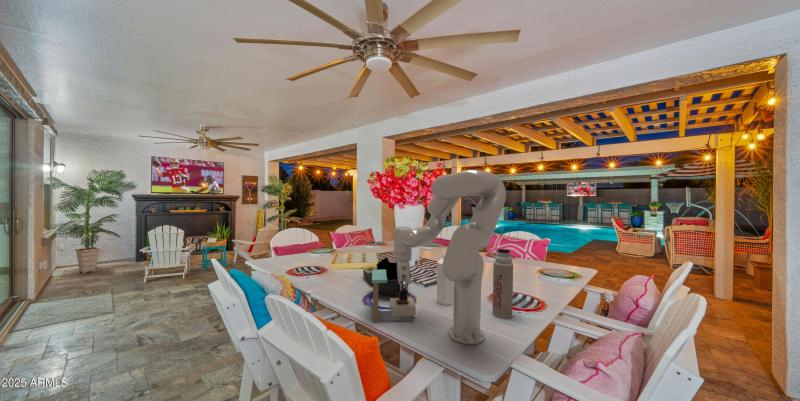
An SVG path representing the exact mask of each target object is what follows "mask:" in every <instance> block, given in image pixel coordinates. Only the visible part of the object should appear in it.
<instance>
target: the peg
mask: <svg viewBox="0 0 800 401" xmlns="http://www.w3.org/2000/svg"><path fill="white" fill-rule="evenodd" d="M402 283H403V282H402ZM402 286H403V285H402ZM407 290H408V291H409V285H408V284H407ZM398 298H399V305H407V300H400V291H399V294H398Z"/></svg>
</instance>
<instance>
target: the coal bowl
mask: <svg viewBox="0 0 800 401" xmlns="http://www.w3.org/2000/svg"><path fill="white" fill-rule="evenodd" d="M375 266H376V268H377V270H386V275H387V283H378V292H380V293H383V294H384V295H387V294H388V295H389V296H395V295H399V294H398V293H399V292H398V279H397V261H396V262H390V260H389V258H388V257H387V256H386V257H385V258H382V259H381V260H380V261H378V262H377V263H376V265H375ZM411 278H412V274H411V273H410V280H411ZM409 285H410V284H408V286H409ZM394 294H395V295H394ZM388 295H387V296H388Z"/></svg>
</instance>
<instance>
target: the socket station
mask: <svg viewBox="0 0 800 401" xmlns="http://www.w3.org/2000/svg"><path fill="white" fill-rule="evenodd" d="M372 283H373V287H372V323H373V324H374V323H402V322H405V323H406V322H410V323H411V322H414V319H413V317H416V315H417V314H416V313H417V312H416V309H417V308H416V304H415V301H414V300H415V299H414V298H413V297H408V300H407V305H399V297H395V298H394V297H390V298H389V303H390V304H389V305H390V307H391V311H380V310H378V305H379V290H378V283H387V275H386V270H372Z"/></svg>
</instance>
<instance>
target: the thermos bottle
mask: <svg viewBox="0 0 800 401" xmlns="http://www.w3.org/2000/svg"><path fill="white" fill-rule="evenodd" d="M510 252H511V250H510V249H508V248H507V249H506V248H498V249H497V255H496V256H495V258H494V259H495V260H494V261H493V263H492V264H493V269H492V270H493V273H492V274H493V275H492V276H493V277H492V282H493V283H492V315H493V316H494V317H496V318H498V319H506V320H507V319H512V317H513V303H514V302H513V295H514V292H513V291H514V262H513V260H512V259H513V258H512V257H511V256H510Z"/></svg>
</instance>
